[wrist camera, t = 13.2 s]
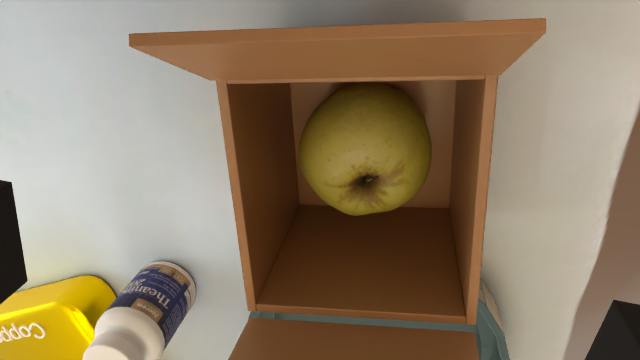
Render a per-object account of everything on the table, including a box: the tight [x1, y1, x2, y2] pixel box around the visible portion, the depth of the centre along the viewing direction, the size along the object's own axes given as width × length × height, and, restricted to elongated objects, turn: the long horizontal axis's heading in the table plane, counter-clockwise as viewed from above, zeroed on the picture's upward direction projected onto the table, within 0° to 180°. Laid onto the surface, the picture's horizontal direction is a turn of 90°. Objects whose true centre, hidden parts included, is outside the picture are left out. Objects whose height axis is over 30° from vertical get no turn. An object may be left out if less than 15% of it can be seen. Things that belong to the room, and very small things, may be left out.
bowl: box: [248, 278, 510, 360], centre depth 40 cm, size 20×20×4 cm
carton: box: [216, 75, 498, 360], centre depth 26 cm, size 14×12×19 cm
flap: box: [129, 18, 546, 80], centre depth 17 cm, size 6×12×1 cm
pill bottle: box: [83, 261, 196, 360], centre depth 39 cm, size 5×5×10 cm
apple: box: [298, 82, 432, 216], centre depth 30 cm, size 8×8×10 cm
